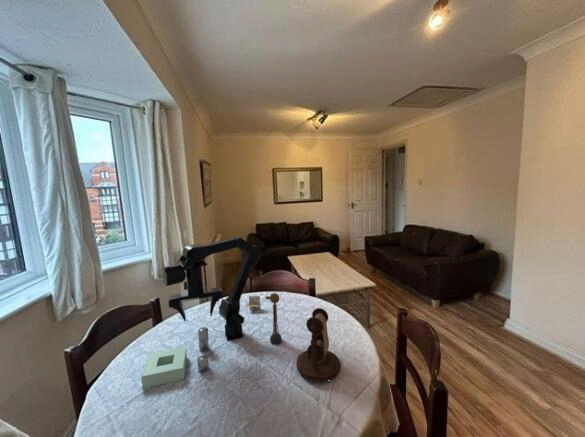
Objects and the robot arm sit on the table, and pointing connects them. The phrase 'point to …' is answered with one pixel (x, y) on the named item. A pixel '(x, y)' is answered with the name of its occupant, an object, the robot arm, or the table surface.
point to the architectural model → (254, 302)
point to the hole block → (164, 367)
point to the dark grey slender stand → (275, 320)
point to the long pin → (203, 339)
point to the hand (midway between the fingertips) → (198, 318)
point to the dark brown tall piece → (318, 351)
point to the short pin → (203, 363)
